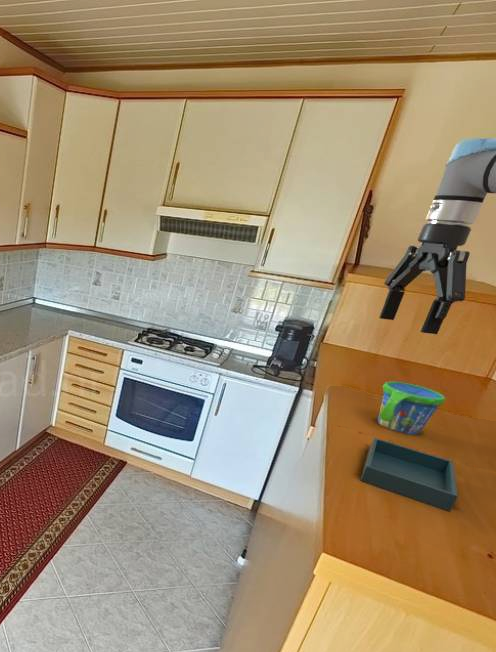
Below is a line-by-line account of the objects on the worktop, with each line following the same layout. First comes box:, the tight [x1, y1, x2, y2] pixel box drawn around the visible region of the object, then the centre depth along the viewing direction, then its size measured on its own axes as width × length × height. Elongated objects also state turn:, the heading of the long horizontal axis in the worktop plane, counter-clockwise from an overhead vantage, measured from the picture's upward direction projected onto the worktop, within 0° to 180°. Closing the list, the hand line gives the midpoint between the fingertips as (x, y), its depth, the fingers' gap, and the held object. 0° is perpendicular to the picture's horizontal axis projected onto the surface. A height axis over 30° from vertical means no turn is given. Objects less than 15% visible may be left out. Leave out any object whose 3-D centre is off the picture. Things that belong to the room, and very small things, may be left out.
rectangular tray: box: [359, 437, 459, 513], centre depth 89 cm, size 12×18×3 cm
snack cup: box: [377, 381, 446, 435], centre depth 110 cm, size 16×10×10 cm
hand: (406, 325), depth 106 cm, fingers open, 13 cm apart
